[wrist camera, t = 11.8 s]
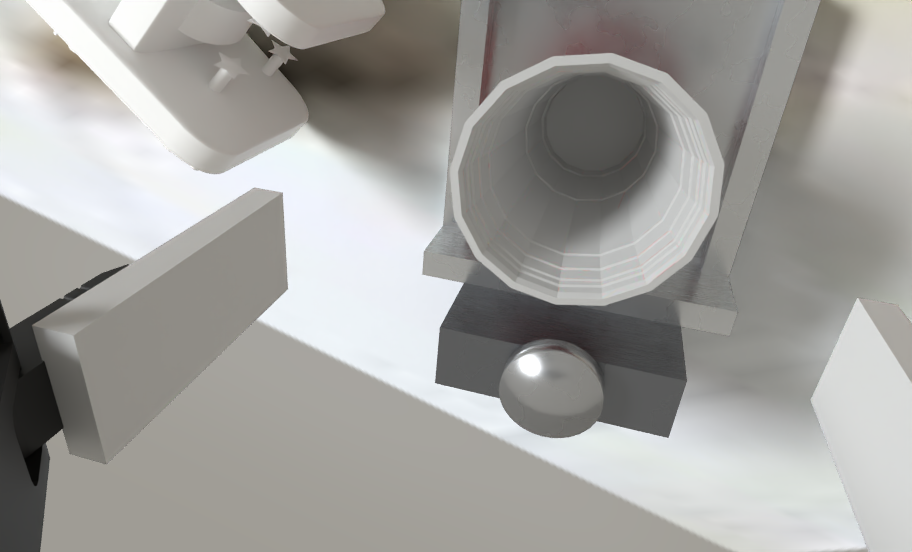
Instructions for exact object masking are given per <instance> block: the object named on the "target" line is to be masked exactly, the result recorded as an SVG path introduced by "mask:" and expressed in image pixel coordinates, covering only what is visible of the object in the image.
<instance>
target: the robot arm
mask: <svg viewBox="0 0 912 552" xmlns="http://www.w3.org/2000/svg"><path fill="white" fill-rule="evenodd" d="M287 289H288V282H287V264H286V246H285V229H284V211H283V193H281V192H276V191H270V190H265V189H259V188H253V189H251V190H250V191H248V192H247V193H245V194H243V195H242V196H240V197H238V198H237V199H235V200H234V201H232V202H230V203H229V204H227V205H226V206H224V207H222V208H221V209H219V210H217V211H216V212H214V213H213V214H211V215H209V216H208V217H206V218H205V219H203V220H201V221H200V222H198V223H196V224H195V225H193V226H192V227H190V228H188V229H187V230H185V231H184V232H182V233H180V234H179V235H177V236H175V237H174V238H172V239H171V240H169V241H167V242H166V243H164V244H163V245H161V246H159V247H158V248H156V249H154V250H153V251H151V252H150V253H148V254H146V255H145V256H143V257H142V258H140V259H138V260H137V261H135V262H133V263H132V264H130V265H128V264H127V265H124V266H122V267H119V268H116V269H113V270H110V271H107V272H104V273H102V274H100V275H98V276H96V277H95V278H93V279H91V280H90V281H88V282H86V283H85V284H83V285H81V288H80V289H78V288H76V289H75V290H73V291H71V292H70V293H68V294H66V295H65V296H64V299H58V300H56V301H55V302H53V303H52V304H50V305H48V306H46V307H45V308H43V309H42V310H40V311H38V312H36V313H35V314H33V315H32V316H30V317H28V318H26V319H25V320H23V321H22V322H20V323H18V324H17V325H15V326H13V327H12V328H10V329H9V326H8V323H7V320H6V316H5V313H4V310H3V307H2V304H1V300H0V552H40V547H41V538H42V528H43V518H44V509H45V500H46V490H47V480H48V471H49V460H50V457H49V453H48V449H47V446H46V442H47V441H48V440H49V439H50V438H52V437H53V436H54V435H55V434H57V433H58V432H59V431H60V430H61V429H63V433H64V435H65V439H66V443H67V446H68V449H69V453H70V454H72V455H75V456H79V457H82V458H86V459H89V460H93V461H96V462H100V463H103V464H108V463H109V462H110V461H111V460H112V459H113V458H114V457H115V456H116V455H117V454H118V453H119V452H120V451H121V450H122V449H123V448H124V447H125V446H126V445H127V444H128V443H129V442H130V441H131V440H132V439H133V438H135V437H136V435H138V434H139V433H140V432H141V430H143V429H144V428H145V427H146V426H147V425H148V424H149V423H150V422H151V421H152V420H153V419H154V418H155V417H156V416H157V415H158V414H159V413H160V412H161V411H162V410H163V409H164V408H165V407H166V406H168V405H169V404H170V403H171V402H172V401H173V400H174V399H175V398H176V397H177V396H178V395H179V394H180V393H181V392H182V391H183V390H184V389H185V388H186V387H187V386H188V385H189V384H190V383H191V382H192V381H193V380H194V379H195V378H196V377H198V375H200V374H201V373H202V372H203V371H204V370H205V369H206V368H207V367H208V366H209V365H210V364H211V363H212V362H213V361H214V360H215V359H216V358H217V357H218V356H219V355H220V354H221V353H222V352H223V351H224V350H225V349H226V348H227V347H228V346H229V345H231V343H233V342H234V341H235V340H236V339H237V338H238V337H239V336H240V335H241V334H242V333H243V332H244V331H245V330H246V329H247V328H248V327H249V326H250V325H251V324H252V323H253V322H254V321H255V320H256V319H257V318H258V317H260V316H261V315H262V314H263V313H264V312H265V311H266V310H267V309H268V308H269V307H270V306H271V305H272V304H273V303H274V302H275V301H276V300H277V299H278V298H279V297H280V296H281V295H282V294H283V293H284V292H285V291H286V290H287ZM811 403H812V406H813V408H814V411H815V413H816V416H817V419H818V421H819V424H820V426H821V429H822V432H823V434H824V437H825V439H826V442H827V445H828V447H829V450H830V453H831V455H832V458H833V460H834V463H835V466H836V468H837V471H838V473H839V476H840V479H841V481H842V484H843V486H844V489H845V492H846V494H847V497H848V499H849V502H850V505H851V507H852V510H853V512H854V515H855V518H856V520H857V523H858V525H859V528H860V531H861V533H862V536H863V538H864V541H865V544H866V546H867V549H868V551H869V552H912V324H911V322H910V321H909V320H908V318H907V317H906V316H905V314H904V313H903V311H902V310H901V309H900V307H899V306H898V305H896V304H890V303H885V302H879V301H874V300H868V299H863V298H857V300H856V302H855V304H854V306H853V308H852V311H851V313H850V315H849V317H848V319H847V322H846V324H845V326H844V328H843V330H842V332H841V335H840V337H839V339H838V341H837V343H836V345H835V348H834V350H833V352H832V354H831V356H830V359H829V361H828V363H827V365H826V367H825V369H824V372H823V374H822V376H821V378H820V380H819V383H818V385H817V387H816V389H815V391H814V393H813V396H812V398H811Z"/></svg>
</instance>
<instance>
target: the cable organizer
mask: <svg viewBox="0 0 912 552" xmlns="http://www.w3.org/2000/svg"><path fill="white" fill-rule="evenodd" d="M25 1H26V2H27V3H28V4H29V5H30V6H31V7H32V8H33V9H34V10H35V11H36V12H37V13H38V14H39V15H40V16H41V17H42V18H43V19H44V20H45V21H46V23H47V24H48V25H49V26H50V27H51V28H52V29H53V30H54V32H53V34H54V35H59V36H60V37H61V38H62V39H63V40H64V41H65V42H66V43H67V44H68V45H69V46H68V47H69V48H70V49H71V50H72V51H73V52H74V53H75V54H77V55H78V56H79V57H80V58H81V59H82V60H83V61H84V62H85V63H86V64H87V65H88V66H89V67H90V68H91V69H92V70H93V71H94V72H95V73H96V75H97V76H98V77H99V78H100V79H101V80H102V81H103V82H104V83H105V84H106V85H107V86H108V87H109V88H110V89H111V90H112V91H113V92H114V93H115V94H116V95H117V96H118V97H119V98H120V99H121V101H122V102H123V103H124V104H125V105H126V106H127V107H128V108H129V109H130V110H131V111H132V112H133V113H134V114H135V115H136V116H137V117H138V118H139V119H140V120H141V121H142V122H143V123H144V124H145V125H146V127H147V128H148V129H149V130H150V131H151V132H152V133H153V134H154V135H155V136H156V137H157V138H158V139H159V140H160V141H161V142H162V143H163V144H164V145H163V146H164V147H165V148H166V149H167V150H168V151H170V152H172V153H173V154H174V155H176V156H177V157H178V158H179V159H181V160H182V161H184V162H185V163H187V164H188V165H190V166H191V168H192V169H194V170H200V171H202V172H206V173H209V174H221V173H224V172H225V171H227V170H229V169H231V168H233V167H235V166H237V165H239V164H241V163H243V162H245V161H247V160H249V159H251V158H253V157H255V156H257V155H258V154H260V153H262V152H264V151H266V150H268V149H270V148H272V147H274V146H276V145H278V144H280V143H282V142H284V141H286V140H288V139H290V138H291V137H293V136H294V135H295V134H296V132H297V131H298V130H299V129H300V128H301V127H302V126H303V125H304V124H305V123H306V122H307V121H308V118H309V113H308V109H307V106H306V104H305V102H304V100H303V99H302V97H301V95H300V94H299V93H298V91H297V90H296V89H295V87H294V86H293V85H292V84H291V83H290V82H289V81H288V79H287V78H286V77H285V76H284V75H283V74H282V73H281V72H280V70H279V69H278V68H279V67H280V66H281V65H282V63H283V62H284V64H286V63H287V61H288V59H292V60H297V59H296V58H295V57H294V56H293V55H291V54H290V46H292V47H295V48H298V49H307V48H310V47H314V46H318V45H322V44H325V43H329V42H333V41H336V40H340V39H344V38H347V37H351V36H355V35H358V34H362V33H366V32H369V31H370V30H371V29H372V28H373V27H374V26H375V24H376V23H377V22H378V21H379V20H380V19H381V18H382V17H383V16H384V14H385V7H384V4H383V2H382V0H25ZM252 23H254V24H256V25H258V26H260V27H261V28H262V29H263V31H264V32H265V33H266V35H267V36H268V37H269V35H270V34H272V35H273V36H275V37H276V38H278V39H279V40H281V41H282V42H284V43H286V44H288V45H290V46H280V45H279V44H277V43H276V42H274V41H273V40H272V42H273V45H274V47H275V48H274V49H272V50H269V52H271V53H273V55H272V56H271V57H270V59H269V58H268V57H267V56H266V55H265V54H264V53H263V51H262V50H261V49H260V48H259V47H258V46H257V45H256V44H255V42H254V41H253V40H252V39H251V38H250V37H249V36H248V35H247V34H246V32H247V31H248V29H249V28H250V26H251V25H252ZM297 61H298V60H297Z"/></svg>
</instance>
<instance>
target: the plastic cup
mask: <svg viewBox="0 0 912 552" xmlns="http://www.w3.org/2000/svg"><path fill="white" fill-rule="evenodd" d="M724 165H725V164H724V161H723V158H722V155H721V152H720V149H719V147H718V144H717V141H716V138H715V135H714V132H713V129H712V126H711V123H710V120H709V117H708V114H707V113H706V112H705V111H704V110H703V109H702V108H701V107H700V106H699V105H698V104H697V103H696V102H695V101H694V100H693V99H692V98H691V97H690V96H689V95H688V93H687V92H686V91H685V90H684V89H683V88H682V87H681V86H680V85H679V84H678V83H677V82H676V81H675V80H674V79H673V78H672V77H671V76H670V75H669V74H668V73H665V72H662V71H660V70H657V69H654V68H652V67H649V66H646V65H644V64H641V63H638V62H635V61H633V60H630V59H627V58H625V57H622V56H619V55H617V54H614V53H602V54H584V55H566V56H552V57H550V58H548V59H546V60H544V61H542V62H540V63H538V64H536V65H534V66H532V67H530V68H528V69H525V70H523V71H521V72H519V73H517V74H515V75H513V76H511V77H509V78H507V79H505V80H503V81H501V82H500V83H499V84H498V85H497V86H496V88H495V89H494V90H493V91H492V92H491V93H490V94H489V96H488V97H487V98H486V99H485V100H484V101H483V102H482V103H481V105H480V106H479V107H478V108H477V109H476V110H475V111H474V113H473V114H472V115H471V116H470V117H469V118H468V119H467V121H466V122H465V124H464V127H463V130H462V133H461V136H460V139H459V142H458V145H457V149H456V152H455V155H454V158H453V161H452V164H451V167H450V180H451V191H452V202H453V212H454V218H455V220H456V222H457V224H458V226H459V228H460V229H461V231H462V233H463V235H464V237H465V239H466V241H467V242H468V244H469V246H470V248H471V250H472V252H473V254H474V256H475V257H476V259H478V260H479V261H480V262H481V263H482V264H483V265H485V266H486V267H487V268H488V269H489V270H490V271H492V272H493V273H494V274H495V275H496V276H498V277H499V278H500V279H501V280H502V281H503V282H505V283H506V284H507V285H508V286H509V287H510V288H512V289H515V290H518V291H520V292H523V293H526V294H528V295H531V296H534V297H536V298H539V299H542V300H544V301H547V302H550V303H552V304H555V305H592V306H605V305H608V304H611V303H614V302H618V301H621V300H624V299H627V298H630V297H633V296H637V295H640V294H643V293H646V292H649V291H652V290H653V289H654V288H656V287H657V286H658V285H660V284H661V283H662V282H664V281H665V280H666V279H668V278H669V277H670V276H671V275H673V274H674V273H675V272H677V271H678V270H679V269H681V268H682V267H683V266H685V265H686V264H687V263H689V262H690V261H691V260H692V259H693V257H694V255H695V254H696V252H697V250H698V249H699V247H700V245H701V244H702V242H703V240H704V239H705V237H706V235H707V234H708V232H709V231H710V229H711V227H712V226H713V224H714V222H715V221H716V219H717V217H718V213H719V205H720V197H721V189H722V181H723V173H724Z"/></svg>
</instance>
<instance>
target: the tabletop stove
mask: <svg viewBox="0 0 912 552" xmlns="http://www.w3.org/2000/svg"><path fill="white" fill-rule="evenodd" d="M820 1H821V0H461V12H460V24H459V37H458V49H457V61H456V74H455V86H454V98H453V111H452V123H451V135H450V147H449V160H448V172H447V184H446V197H445V209H444V221H443V226H442V227H441V229H440V230H439V232H438V233H437V234H436V236H435V237H434V238H433V240H432V241H431V242H430V244H429V245H428V246H427V248H426V249H425V251H424V259H423V275H428V276H433V277H438V278H443V279H448V280H452V281H457V282H462V283H464V284H463V286H462V288H461V290H460V291H459V293H458V295H457V297H456V299H455V301H454V303H453V304H452V306H451V308H450V310H449V312H448V314H447V316H446V317H445V319H444V321H443V323H442V325H441V327H440V333H439V345H438V356H437V368H436V380H435V383H437V384H441V385H446V386H450V387H454V388H458V389H463V390H467V391H471V392H475V393H480V394H484V395H488V396H492V397H497V398H500V400H501V403H502V405H503V408H504V409H505V411H506V413H507V414H508V415H509V417H510V418H511V419H512V420H513V421H514V422H516V423H517V424H518V425H519V426H521V427H522V428H524V429H526V430H527V431H529V432H532V433H534V434H537V435H540V436H544V437H550V438H565V437H571V436H575V435H578V434H580V433H582V432H584V431H586V430H587V429H589V428H590V427H591V426H592V425H593V424H595V422H596V421H599V422H603V423H607V424H612V425H616V426H620V427H624V428H629V429H633V430H637V431H642V432H646V433H650V434H654V435H659V436H663V437H667V438H668V437H669V434H670V431H671V428H672V425H673V422H674V419H675V416H676V413H677V410H678V407H679V404H680V400H681V397H682V394H683V391H684V388H685V385H686V382H687V379H686V370H685V361H684V352H683V343H682V334H681V327H686V328H691V329H696V330H700V331H705V332H710V333H715V334H720V335H725V336H730V333H731V331H732V328H733V325H734V322H735V319H736V316H737V313H738V311H737V307H736V303H735V300H734V296H733V293H732V289H731V285H730V282H729V275H730V272H731V269H732V266H733V263H734V260H735V257H736V254H737V251H738V248H739V245H740V242H741V239H742V236H743V233H744V230H745V227H746V224H747V221H748V218H749V214H750V211H751V208H752V205H753V202H754V199H755V196H756V193H757V190H758V187H759V184H760V181H761V178H762V175H763V172H764V169H765V166H766V163H767V160H768V157H769V154H770V151H771V148H772V145H773V142H774V139H775V136H776V133H777V130H778V127H779V124H780V121H781V118H782V115H783V112H784V109H785V106H786V103H787V100H788V97H789V94H790V91H791V88H792V85H793V82H794V79H795V76H796V73H797V70H798V67H799V64H800V61H801V58H802V55H803V52H804V49H805V46H806V43H807V40H808V37H809V34H810V31H811V28H812V25H813V22H814V19H815V16H816V13H817V10H818V7H819V4H820ZM602 53H614V54H617V55H619V56H622V57H625V58H627V59H630V60H633V61H635V62H638V63H641V64H644V65H646V66H649V67H652V68H654V69H657V70H660V71H662V72H665V73H668V74H669V75H670V76H671V77H672V78H673V79H674V80H675V81H676V82H677V83H678V84H679V85H680V86H681V87H682V88H683V89H684V90H685V91H686V92H687V93H688V95H689V96H690V97H691V98H692V99H693V100H694V101H695V102H696V103H697V104H698V105H699V106H700V107H701V108H702V109H703V110H704V111H705V112H706V113H707V114H708V117H709V120H710V123H711V126H712V129H713V132H714V135H715V138H716V141H717V144H718V147H719V149H720V152H721V155H722V158H723V161H724V164H725V165H724V173H723V181H722V189H721V197H720V205H719V213H718V217H717V219H716V221H715V222H714V224H713V226H712V227H711V229H710V231H709V232H708V234H707V235H706V237H705V239H704V240H703V242H702V244H701V245H700V247H699V249H698V250H697V252H696V254H695V255H694V257H693V259H692V260H691V261H690V262H689V263H687V264H686V265H685V266H683V267H682V268H681V269H679V270H678V271H677V272H675V273H674V274H673V275H671V276H670V277H669V278H668V279H666V280H665V281H664V282H662V283H661V284H660V285H658V286H657V287H656V288H654V289H653V290H652V291H649V292H646V293H643V294H640V295H637V296H633V297H630V298H627V299H624V300H621V301H618V302H614V303H611V304H608V305H605V306H592V305H555V304H552V303H550V302H547V301H544V300H542V299H539V298H536V297H534V296H531V295H528V294H526V293H523V292H520V291H518V290H515V289H512V288H510V287H509V286H508V285H507V284H506V283H505V282H503V281H502V280H501V279H500V278H499V277H498V276H496V275H495V274H494V273H493V272H492V271H490V270H489V269H488V268H487V267H486V266H485V265H483V264H482V263H481V262H480V261H479V260H478V259H476V257H475V256H474V254H473V252H472V250H471V248H470V246H469V244H468V242H467V241H466V239H465V237H464V235H463V233H462V231H461V229H460V228H459V226H458V224H457V222H456V220H455V218H454V212H453V202H452V191H451V180H450V167H451V164H452V161H453V158H454V155H455V152H456V149H457V145H458V142H459V139H460V136H461V133H462V130H463V127H464V124H465V122H466V121H467V119H468V118H469V117H470V116H471V115H472V114H473V113H474V111H475V110H476V109H477V108H478V107H479V106H480V105H481V103H482V102H483V101H484V100H485V99H486V98H487V97H488V96H489V94H490V93H491V92H492V91H493V90H494V89H495V88H496V86H497V85H498V84H499V83H500V82H501V81H503V80H505V79H507V78H509V77H511V76H513V75H515V74H517V73H519V72H521V71H523V70H525V69H528V68H530V67H532V66H534V65H536V64H538V63H540V62H542V61H544V60H546V59H548V58H550V57H552V56H566V55H584V54H602Z"/></svg>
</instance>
